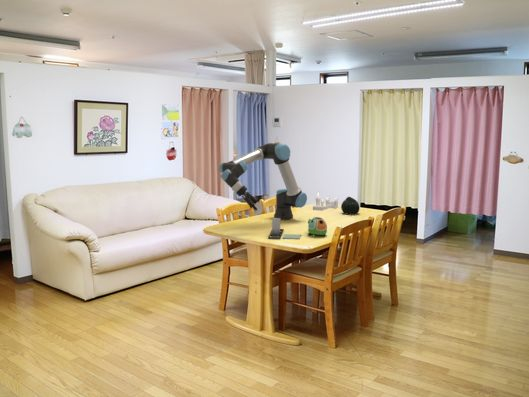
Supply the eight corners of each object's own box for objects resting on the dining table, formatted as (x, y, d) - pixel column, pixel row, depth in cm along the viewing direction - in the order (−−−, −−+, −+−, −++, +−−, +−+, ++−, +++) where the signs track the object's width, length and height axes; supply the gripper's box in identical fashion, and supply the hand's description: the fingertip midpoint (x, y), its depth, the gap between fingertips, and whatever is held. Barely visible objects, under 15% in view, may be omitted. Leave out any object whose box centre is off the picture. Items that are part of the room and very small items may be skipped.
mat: (283, 238, 319) (283, 237, 319) (284, 234, 330) (284, 234, 330) (299, 239, 318) (299, 238, 318) (300, 235, 329) (300, 234, 329)
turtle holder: (317, 231, 343) (317, 214, 341) (330, 236, 326) (331, 219, 324) (301, 232, 338) (301, 215, 336) (314, 238, 321) (314, 220, 319)
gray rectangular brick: (272, 235, 329) (272, 219, 327) (272, 233, 334) (273, 217, 332) (279, 235, 328) (279, 219, 327) (280, 234, 333) (280, 218, 332)
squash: (359, 209, 398) (359, 194, 406) (341, 209, 400) (341, 194, 408) (359, 218, 409) (359, 203, 417) (341, 218, 412) (341, 203, 420)
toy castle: (311, 210, 427) (311, 191, 424) (324, 206, 447) (325, 188, 445) (326, 211, 419) (326, 193, 416) (339, 207, 439) (339, 189, 437)
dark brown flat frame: (272, 230, 344) (272, 228, 344) (283, 230, 343) (283, 229, 343) (268, 238, 319) (268, 237, 319) (280, 239, 318) (280, 237, 318)
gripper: (238, 190, 342) (260, 212, 342) (232, 195, 318) (255, 218, 318) (246, 182, 341) (267, 204, 341) (240, 187, 316) (263, 210, 317)
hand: (261, 211), depth 329 cm, fingers open, 13 cm apart
